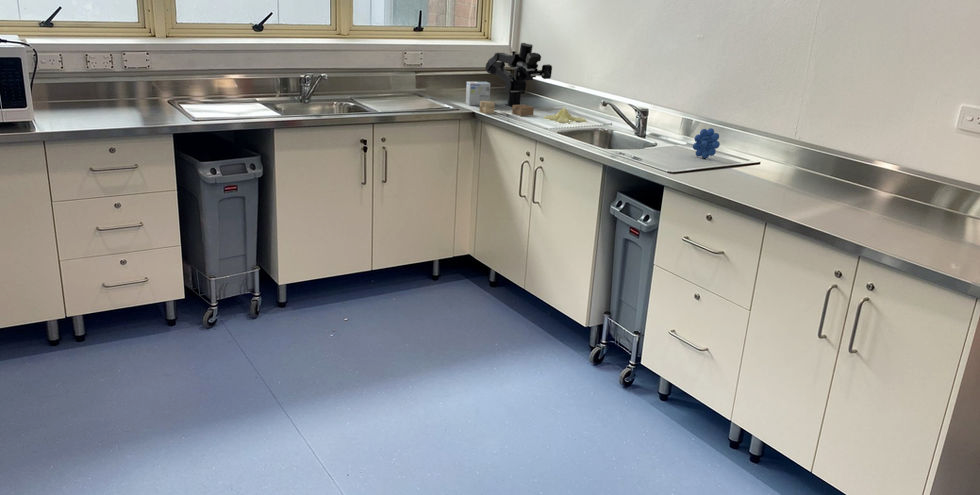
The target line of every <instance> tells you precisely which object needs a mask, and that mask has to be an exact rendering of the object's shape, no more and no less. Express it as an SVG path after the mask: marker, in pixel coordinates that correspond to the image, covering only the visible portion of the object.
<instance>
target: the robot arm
mask: <svg viewBox="0 0 980 495" xmlns="http://www.w3.org/2000/svg"><path fill="white" fill-rule="evenodd" d="M533 47H534V46H533V44H531V43H527V42H526V43H525V42H520V46H519V53H514V54H508V53H505V52H496V53H494V55H493V56H492V57H490V58H489V59H488V60H487V62H486V64H485V71H486V73H487V74H490V75H496V76H497V77H498V78H499V79H501V80H502V81H503V82H504V83H505V84H506V85H505V86H504V93H506V94H507V102H506V103H504V105H505V106H508V107H512V108H513V105H521V100H522V99H521V95H522V94H525V91H526V88H527V83H526V81H533V80H534V78H537V77H540V76H541V78H542V79H543V80H550V79H552V78H551V77H552V71H553V66H552V64H543V65H542V66H541V69H538V68H539V64H538V62H541V60H542V56H541V54H540V53H538V52H533ZM506 64H507V66H509V68H514V69H513V71H514V72H513V74H512V73H510V71H508V70H506V69H505V67H506Z"/></svg>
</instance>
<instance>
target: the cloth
mask: <svg viewBox="0 0 980 495" xmlns="http://www.w3.org/2000/svg"><path fill="white" fill-rule="evenodd" d="M568 110H569V109H567V108H566V107H563V108H561V109H560V110H559V111H558V112H557V113H555V114H550V115H548V114H547V115H545V116H544V117H543V118H544V119H550V120H549V121H554V123H556V122H559V123H558V124H565V123H568V124H567V125H571V124H570V123H571V122H573V121H577V122H576V123H581V122H588V120H587V119H585V118H583V117H580V116H579V117H577V116H572V115H571V114H570V112H569V111H568ZM569 120H572V121H569Z"/></svg>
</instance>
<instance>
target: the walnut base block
mask: <svg viewBox="0 0 980 495" xmlns="http://www.w3.org/2000/svg"><path fill="white" fill-rule="evenodd" d="M511 114H512V115H515V116H518V115H519V116H518V117H526V116H525V115H533V116H534V106H531V105H527V104H520V105H513V107H512V110H511Z"/></svg>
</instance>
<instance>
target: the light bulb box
mask: <svg viewBox="0 0 980 495" xmlns="http://www.w3.org/2000/svg"><path fill="white" fill-rule="evenodd" d="M465 91H466V92H465V104H467V105H468V106H480V101H490V99H491V82H488V81H466V90H465Z"/></svg>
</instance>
